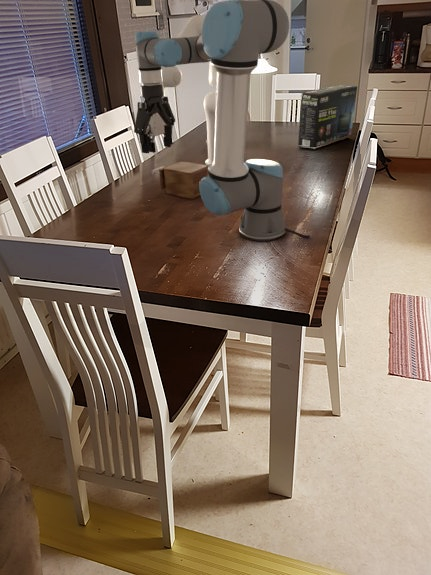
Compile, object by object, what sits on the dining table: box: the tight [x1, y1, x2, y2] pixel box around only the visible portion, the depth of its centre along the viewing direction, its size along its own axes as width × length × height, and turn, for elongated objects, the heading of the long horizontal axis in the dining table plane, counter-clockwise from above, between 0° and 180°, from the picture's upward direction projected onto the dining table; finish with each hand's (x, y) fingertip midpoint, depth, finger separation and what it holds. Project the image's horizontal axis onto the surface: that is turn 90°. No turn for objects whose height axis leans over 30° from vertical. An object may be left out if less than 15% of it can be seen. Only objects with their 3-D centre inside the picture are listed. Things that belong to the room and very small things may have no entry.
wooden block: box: [164, 160, 208, 200], centre depth 183 cm, size 13×11×10 cm
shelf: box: [151, 162, 177, 190], centre depth 187 cm, size 18×10×8 cm, turn 55°
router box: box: [297, 84, 358, 151], centre depth 238 cm, size 36×11×27 cm, turn 134°
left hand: (160, 149), depth 184 cm, fingers open, 8 cm apart
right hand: (157, 148), depth 164 cm, fingers open, 13 cm apart
